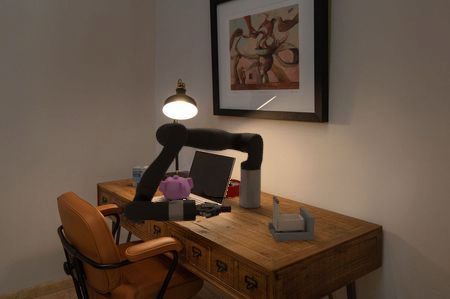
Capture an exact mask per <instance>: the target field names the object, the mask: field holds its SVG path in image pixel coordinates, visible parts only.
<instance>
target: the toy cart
mask: <svg viewBox="0 0 450 299" xmlns="http://www.w3.org/2000/svg"><path fill="white" fill-rule="evenodd" d="M272 222H273V226H274V229H276V231H277V233H282V231H293V230H298V232H303V231H302V230H304V225H305V220H304V219H303V217H302V216H301V215H300V213H290V214H287V213H285V214H282V213H281V214H280V201H279V199H278V198H277V196H275V195H274V196H272Z"/></svg>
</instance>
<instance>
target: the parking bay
mask: <svg viewBox="0 0 450 299" xmlns="http://www.w3.org/2000/svg"><path fill="white" fill-rule="evenodd" d="M299 214H300V215H301V216H302V217H303V219H304V220H305V225H304V230H302V231H303V232H298V230H293V231H282V233H277V231H276V229H274V226H273V221H268V224H267V228H268V230H269V232H270V234H271V235H272V237H273V239H274V241H275V242H281V241H283V242H284V241H306V240H307V241H309V240H310V241H313V240H314V239H315V217H314V216H313V214H312V213H310V212H309V210H307V208H306V207H304V206H299Z"/></svg>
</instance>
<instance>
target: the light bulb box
mask: <svg viewBox="0 0 450 299" xmlns="http://www.w3.org/2000/svg"><path fill="white" fill-rule="evenodd" d="M149 166H150V165H135V166H134V167H132V168H131V169H132V187H135V188H137V185H138V183H139V181H140V179H141V177H142V175H143V174H144V172H145V171H146V169H147V168H148V167H149Z"/></svg>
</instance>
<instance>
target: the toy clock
mask: <svg viewBox="0 0 450 299" xmlns="http://www.w3.org/2000/svg"><path fill="white" fill-rule="evenodd" d="M230 179H231V180H230V184H229V187H228V191H227V195H226V198H225V199H229V198H228V197H232V198H236V197H235V196H237V197H239V185H240V179H234V178H230Z"/></svg>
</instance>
